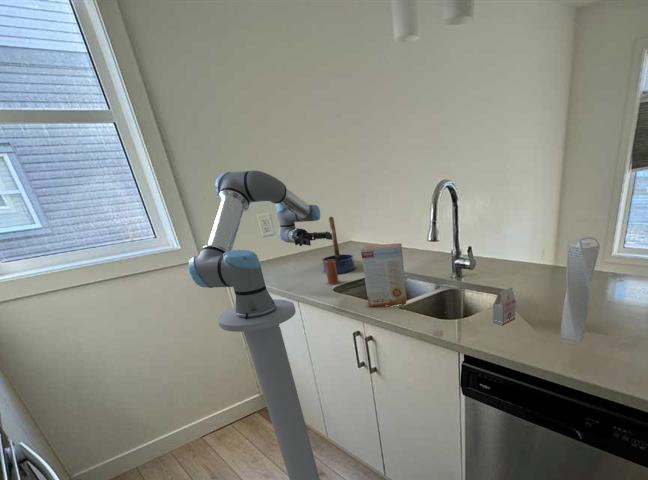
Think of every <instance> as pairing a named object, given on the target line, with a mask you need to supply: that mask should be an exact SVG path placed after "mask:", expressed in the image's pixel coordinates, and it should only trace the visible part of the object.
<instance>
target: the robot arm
mask: <svg viewBox="0 0 648 480" xmlns="http://www.w3.org/2000/svg"><path fill="white" fill-rule="evenodd" d="M215 188H216V189H215V192H216V195H217V197H218V200H219V201H220V204H219V208H218V211H217V214H216V217H215V219H214V223H213V226H212V230H211V233H210V236H209V238H208V241H207V245H204V246H202V247H201V249H200V252H199V255H198V256H197V255H195V256H193V257H191V258H190V259H189V260H188V272H189V274H190V277H191V279H192V281H193V282H194V283H195V284H196V285H197V286H199V287H201V288H208V289H214V288H232V289H233V293H234V294H235V307H236V309H235V312H236V315H237V317H239V318H245V319H247V318H257V317H261V316H265V315H268V314H270V313H272V312H274V311H275V310H276V304H275V302H274V301H273V300H274V299H273V297H272V296H271V294H270V293H269V291H268V290H267V286H266V282H265V278H264V274H263V271H262V266H261V265H262V264H261V262H260V260H259V257H258V255H257V254H256V252H254V251H251V250H247V249H237V250H236V249H235V250H234V249H233V248H234V245H235V241H236V238H237V234H238V231H239V227H240V224H241V220H242V217H243V213H246V212H247V211H248V210H249V208H250V204H251V203H257V202H270V203H272V204H275V209H276V215H277V218H278V222H279V230H278V237H279V239H280V240H281V241H282V242H286V243H289V244H294V245H295V246H298V245H299V247H302V246H303V245H304V246H312V244H311V241H316V240H323V239H324V240H325V239H326V240H329V241H333V240H332V234H331V231H328V230H326V231H325V232H321V231H320V232H308V231H307V230H306V229H303V228H299V227H296V223H303V222H317V221H319V220H320V219H321V210H320V207H319V206H318V205H317V204H308V203H307V201H305V200H304V199H302V198H300V197H299V196H298V195H296V194H295V193H294V192H292V191H291V190H289V189H288V188H287V186H286V185H285V183H284V182H283V181H281V180H279V179H278V178H277V177H275V176H273V175H271V174H270V173H267V172H263V171H260V170H245V171H227V172H224V173H221V174H220V175H218V177H216V180H215Z"/></svg>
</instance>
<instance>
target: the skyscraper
mask: <svg viewBox="0 0 648 480" xmlns="http://www.w3.org/2000/svg"><path fill="white" fill-rule="evenodd" d="M591 240H593V241H595V244H594V243H591V242H592V241H591ZM600 248H601V244H600V241H599V240H598V239H597V238H596V237H593V236H583V237H581V238H580V239H574V240H573V239H572V240H570V241H569V242H567V249H566V265H565V266H566V267H565V269H566V271H565V274H566V275H565V277H566V279H565V280H566V284H565V285H566V291H565V294H564V300H563V307H562V314H561V324H560V332H559V344H563V345H569V346H577V347H580V346H581V342H582V341H583V339H584V336H585V331H586V327H587V320H588V316H589V306H590V284H591V281H592V278H593V275H594V272H595V269H596V265H597V260H598V256H599V251H600ZM582 335H584V336H582ZM581 336H582V338H581ZM560 338H566V339H571V340H576V341H579V339H580V338H581V339H580V341H579V343H577V342H573V341H567V340H560Z"/></svg>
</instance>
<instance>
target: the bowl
mask: <svg viewBox="0 0 648 480" xmlns="http://www.w3.org/2000/svg"><path fill="white" fill-rule="evenodd" d="M328 259H335V263H336V269H337V274H338V275H339V274H345V273H349V272H352V271H353V270H355V268H356V265H355V258H354V255H353V254H347V253H345V254H344V253H342V254H341V253H340V260H341V261H336V257H335V254H334V255H328V256H326V257H323V258H322V259H321V262H322V267H323V268H322V269H323V271H324V273H326V268H325V262H324V261H325V260H328Z"/></svg>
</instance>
